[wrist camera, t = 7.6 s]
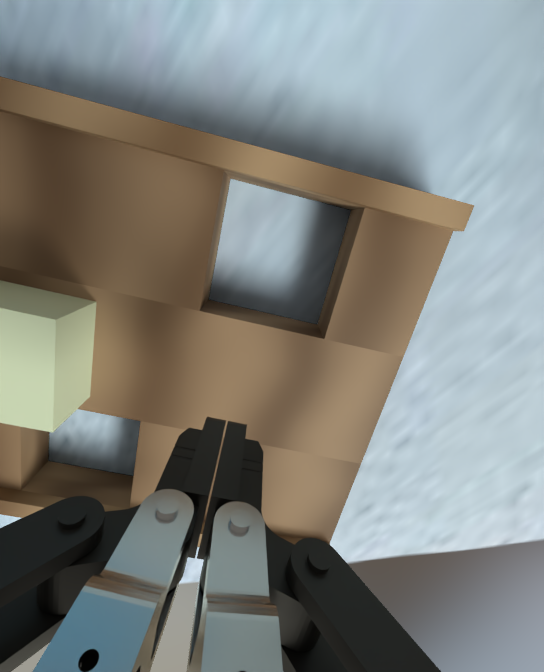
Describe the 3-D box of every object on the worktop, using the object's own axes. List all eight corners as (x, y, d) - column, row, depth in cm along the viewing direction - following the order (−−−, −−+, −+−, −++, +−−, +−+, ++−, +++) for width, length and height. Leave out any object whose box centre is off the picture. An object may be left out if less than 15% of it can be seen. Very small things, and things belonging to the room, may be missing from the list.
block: (96, 301, 15) (55, 319, 12) (90, 396, 16) (52, 432, 14) (-19, 276, 14) (-89, 288, 12) (-15, 376, 16) (-75, 408, 13)
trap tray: (435, 209, 16) (493, 203, 12) (319, 521, 22) (330, 589, 18) (-38, 82, 14) (-166, 22, 10) (-18, 462, 21) (-91, 522, 16)
